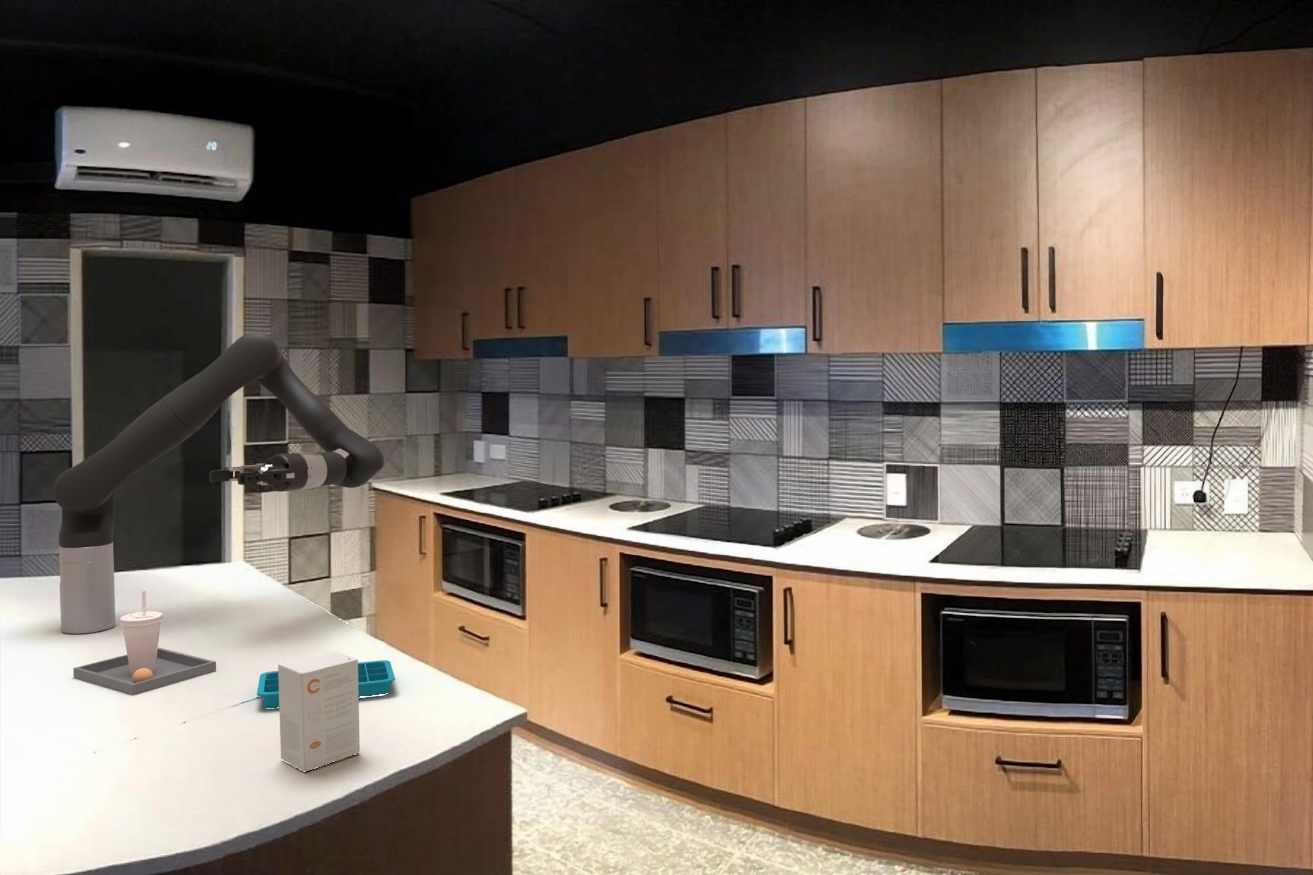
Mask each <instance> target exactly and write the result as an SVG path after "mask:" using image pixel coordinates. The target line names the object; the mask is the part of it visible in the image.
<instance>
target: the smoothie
mask: <svg viewBox="0 0 1313 875" xmlns="http://www.w3.org/2000/svg"><path fill="white" fill-rule="evenodd" d="M146 592H147V591H146V590H141V611H139V612H132V613H129V614H124V615H122V616H121V617H120V618H119V625H120V626H121V627H122V633H123V637H124V643H125V644H124V645H125V651H126V655H127V656H128V662H129V668H130V674H131V675H133V674H134V673H135V671H137V670H138V669H141V668H147V669H149V670H151V671H152V673H153V672H154V671H155V669H156V660H157V651H158V648H159V643H160V642H159V641H160V634H161V633H160V631H161V622H162V621H163V620H164V618H163V615H164V614H163V613H162V612H160V611H149V610H148V611H147V597H146Z"/></svg>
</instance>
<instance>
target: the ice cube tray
mask: <svg viewBox="0 0 1313 875" xmlns="http://www.w3.org/2000/svg"><path fill="white" fill-rule="evenodd" d="M391 663H392V662H391V661H390V660H384V659H381V660H380V659H379V660H369V661H363V662H362V661H361V662H358V695H359V697H360V696H372V695H379V694H386V693H388V692H389V693H390V686H391V683H392V682H395V681H396V677H395V674H394V670H393V666H392V664H391ZM256 696H258V697H262V702H263V709H264V708H277V707H279V676H278V670H273V671H266V672H262V673H260V675H259V678H258V685H257V691H256Z"/></svg>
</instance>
